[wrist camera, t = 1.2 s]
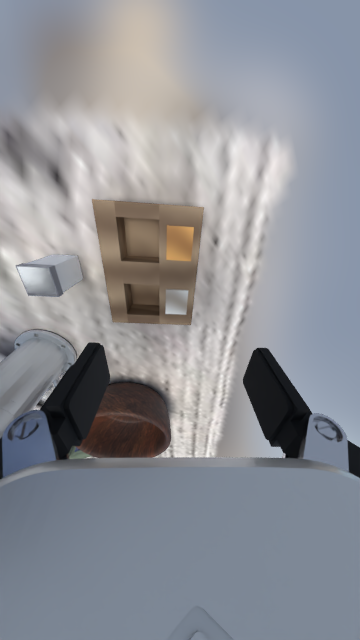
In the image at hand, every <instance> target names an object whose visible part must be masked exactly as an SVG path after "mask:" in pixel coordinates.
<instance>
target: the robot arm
mask: <svg viewBox="0 0 360 640" xmlns="http://www.w3.org/2000/svg"><path fill="white" fill-rule="evenodd" d="M14 348H15V350H14V351H13V352H12V353H11V354H10V355H8V356H7V357H6V358H5V359H4V360H3V361H1V362H0V640H360V448H359V447H358V446H356V445H355V444H353V443H351V442H350V441H348V440H347V436H346V434H345V432H344V430H343V429H342V428H341V427H340V425H339V424H337V423H336V422H335V421H334V420H332V419H331V418H329V417H328V416H325V415H323V414H319V413H314V414H312V412H311V411H310V409H309V407H308V406H307V405H306V403H305V402H304V400H303V399H302V397H301V396H300V394H299V393H298V392H297V390H296V389H295V387H294V386H293V385H292V383H291V381H290V380H289V378H288V377H287V376H286V374H285V373H284V371H283V370H282V368H281V367H280V366H279V364H278V362H277V361H276V360H275V358H274V357H273V355H272V354H271V352H270V351H269V350H268V349H267V348H257V349H256V350H254V351H253V353H252V356H251V359H250V362H249V364H248V367H247V370H246V372H245V375H244V378H243V384H244V386H245V389H246V391H247V394H248V396H249V399H250V401H251V404H252V406H253V408H254V411H255V413H256V416H257V419H258V421H259V424H260V426H261V428H262V431H263V433H264V436H265V438H266V439H267V440H269V442H270V444H271V446H272V447H281V449H282V451H283V456H282V458H217V457H215V458H86V459H69V456H68V453H69V452H70V450H71V448H72V446H81V443H82V441H83V440H84V439H86V438H87V436H88V433H89V431H90V428H91V426H92V423H93V421H94V418H95V416H96V413H97V411H98V408H99V406H100V403H101V401H102V398H103V396H104V393H105V391H106V388H107V386H108V383H109V380H110V374H109V369H108V365H107V360H106V356H105V351H104V347H103V346H102V345H100V343H88V344H87V346H86V347H85V349H84V350H83V352H82V353H81V355H80V356H79V358H78V359H77V361H76V353H75V350H74V349H73V347H72V346H71V345H70V344H69V343H68V342H67V341H66V340H65V339H63V338H62V337H60V336H58V335H56V334H54V333H51V332H48V331H44V330H30V331H26V332H24V333H22V334H21V335H20V336H19V337H17V339H16V340H15V343H14ZM63 372H66V373H65V374H64V376H63V377H62V379H61V380H59V379H58V378H59V376H60V375H61V374H62V373H63ZM52 383H53V384H54V386H55V389H54V390H53V392H52V393H51V395H50V396H49V397H48V399H47V400H46V402H45V403H44V405H43V406H42V407H41V409H40V410H33V409H34V407H35V406H36V404H37V403H38V402H39V400H40V399H41V398H42V396H43V395H44V394H45V392H46V391H47V390H50V389H51V388H52V387H53V384H52Z"/></svg>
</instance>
